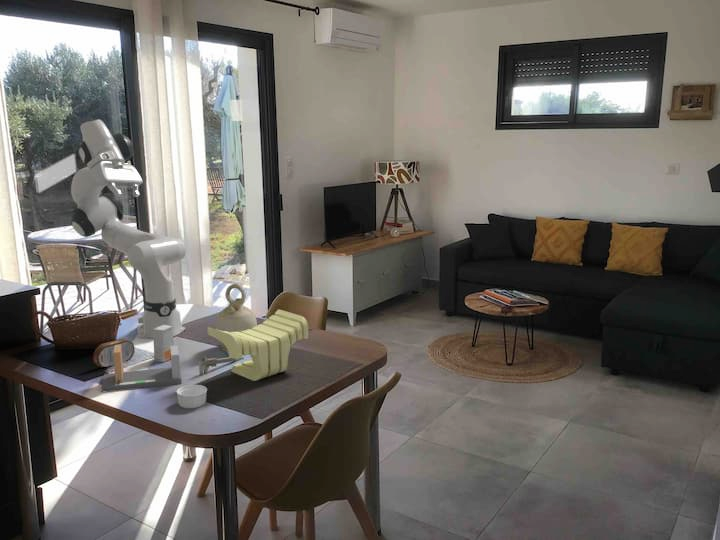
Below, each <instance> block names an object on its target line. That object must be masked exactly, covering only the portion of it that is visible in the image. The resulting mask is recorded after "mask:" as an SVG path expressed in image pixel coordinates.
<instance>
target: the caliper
mask: <svg viewBox="0 0 720 540" xmlns="http://www.w3.org/2000/svg"><path fill="white" fill-rule="evenodd" d="M242 360H244V356H242V357H241V358H239V359H238V360H236V359H234V358H232V357H229V356H228V357H223V358H222V357H221V358H216V357H215V358H208V357H207V356H204V357H203V356H202V357H201V359H200V360H199V365H198V369H199V375H201V376H203V375H207V374H208V371H209V368H210V367H211V368H212V367H217V365H219V364H226V363H232V362H238V361H242Z"/></svg>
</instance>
